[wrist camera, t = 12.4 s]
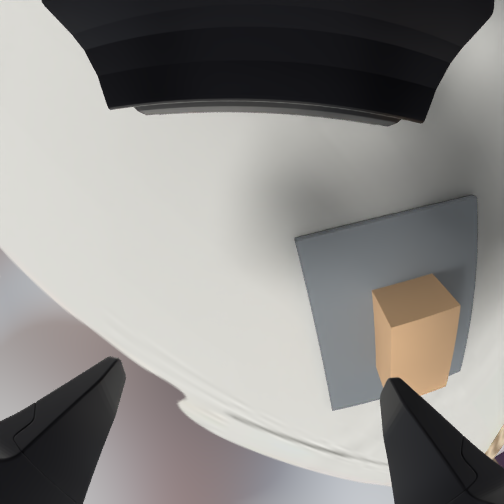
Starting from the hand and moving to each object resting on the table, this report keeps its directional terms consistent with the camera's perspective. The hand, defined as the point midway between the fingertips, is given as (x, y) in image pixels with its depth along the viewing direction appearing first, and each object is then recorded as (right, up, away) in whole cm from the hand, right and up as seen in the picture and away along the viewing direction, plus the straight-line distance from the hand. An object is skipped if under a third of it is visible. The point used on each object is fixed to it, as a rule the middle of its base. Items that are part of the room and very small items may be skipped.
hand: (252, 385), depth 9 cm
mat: (+12, -1, +13) cm, 17 cm away
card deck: (+12, -1, +12) cm, 17 cm away
